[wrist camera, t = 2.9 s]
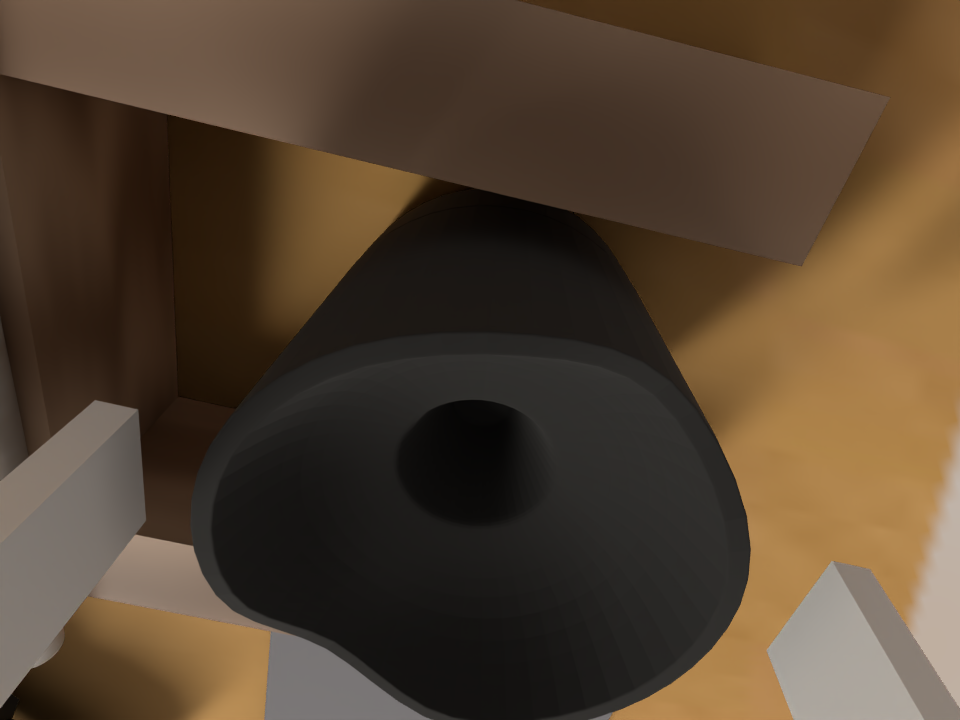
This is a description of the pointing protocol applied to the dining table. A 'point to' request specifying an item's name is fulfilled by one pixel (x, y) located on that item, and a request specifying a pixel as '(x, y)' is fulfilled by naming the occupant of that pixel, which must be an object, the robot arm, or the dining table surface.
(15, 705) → the muzzle brake
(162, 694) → the dining table surface
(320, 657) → the mat
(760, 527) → the dining table surface
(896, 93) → the dining table surface
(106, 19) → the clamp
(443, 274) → the pen holder
